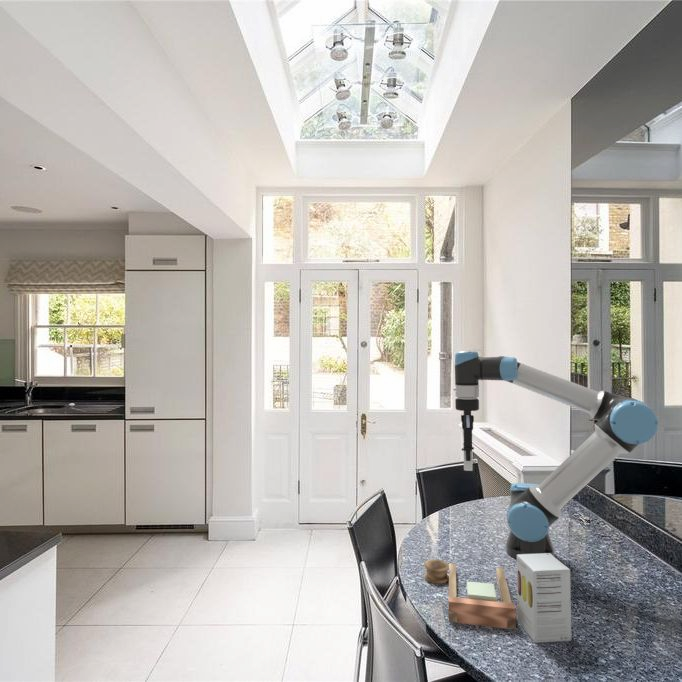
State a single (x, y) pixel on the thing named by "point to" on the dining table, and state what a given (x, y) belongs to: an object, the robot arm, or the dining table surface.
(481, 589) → the pale green block
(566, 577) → the supplement box
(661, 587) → the dining table surface
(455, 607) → the track
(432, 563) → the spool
